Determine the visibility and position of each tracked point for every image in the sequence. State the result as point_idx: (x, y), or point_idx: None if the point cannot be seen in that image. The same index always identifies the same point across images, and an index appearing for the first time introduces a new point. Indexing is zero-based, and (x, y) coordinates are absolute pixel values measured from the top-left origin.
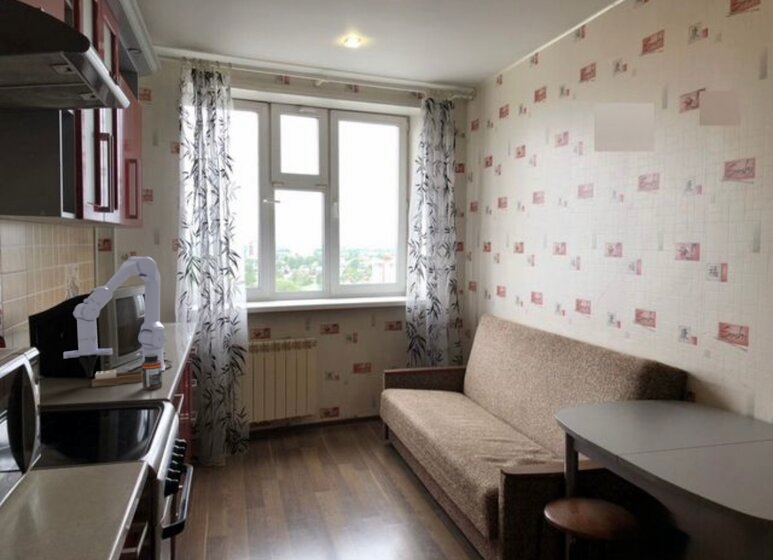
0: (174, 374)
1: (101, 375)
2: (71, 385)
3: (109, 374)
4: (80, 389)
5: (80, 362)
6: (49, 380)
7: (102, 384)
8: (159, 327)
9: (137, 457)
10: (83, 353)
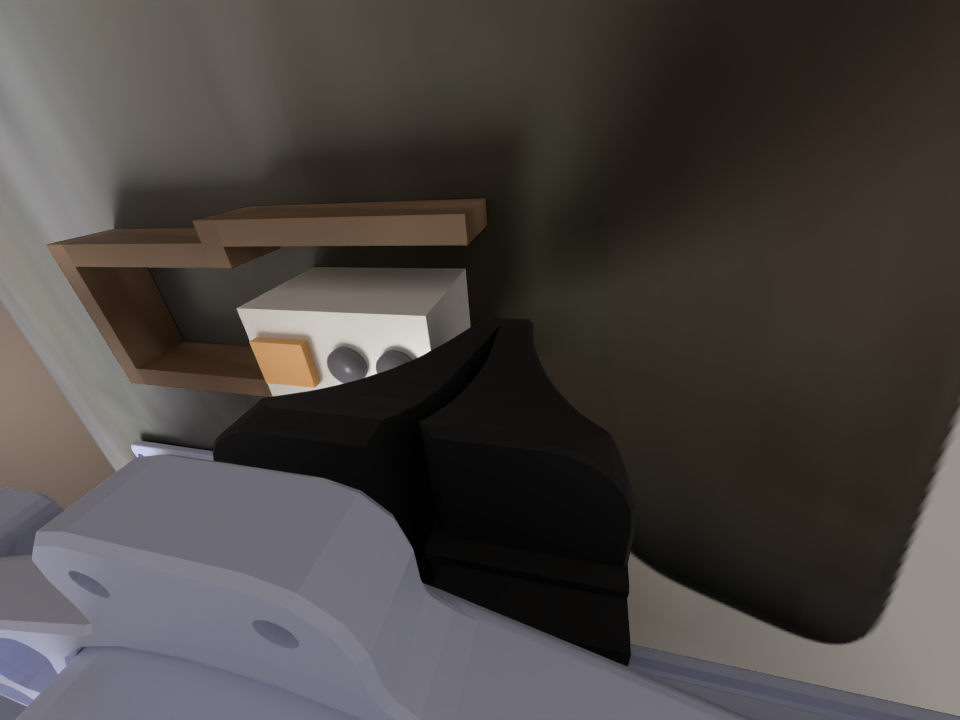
0: (31, 341)
1: (374, 304)
2: (696, 355)
3: (298, 301)
4: (598, 131)
5: (594, 425)
6: (866, 584)
7: (385, 204)
8: None
9: None
10: (336, 589)
